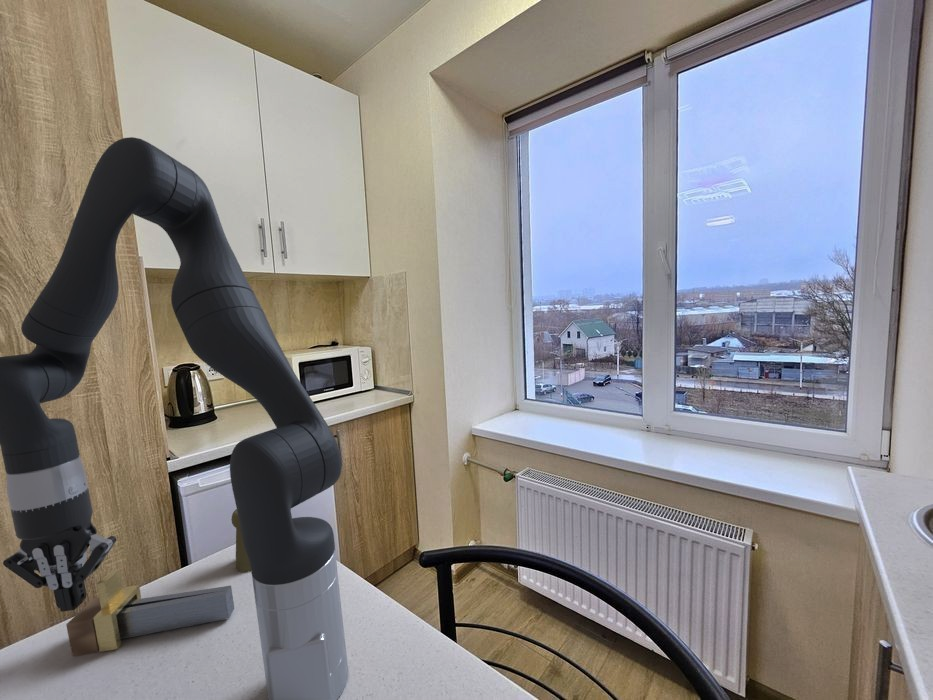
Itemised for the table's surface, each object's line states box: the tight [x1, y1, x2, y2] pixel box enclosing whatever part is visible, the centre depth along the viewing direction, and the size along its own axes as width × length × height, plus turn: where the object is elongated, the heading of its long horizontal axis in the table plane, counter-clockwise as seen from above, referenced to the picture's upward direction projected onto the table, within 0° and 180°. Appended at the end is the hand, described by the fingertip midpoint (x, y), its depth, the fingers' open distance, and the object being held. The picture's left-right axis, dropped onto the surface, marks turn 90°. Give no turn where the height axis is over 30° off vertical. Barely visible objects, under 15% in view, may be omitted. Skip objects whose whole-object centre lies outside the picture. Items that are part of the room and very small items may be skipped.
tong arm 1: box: [116, 590, 233, 640], centre depth 58 cm, size 16×1×4 cm, turn 101°
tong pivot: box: [65, 597, 101, 657], centre depth 57 cm, size 3×5×5 cm, turn 10°
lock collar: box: [93, 568, 142, 653], centre depth 58 cm, size 2×6×9 cm, turn 10°
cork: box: [231, 508, 251, 573], centre depth 73 cm, size 6×6×11 cm
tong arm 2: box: [122, 585, 235, 614], centre depth 60 cm, size 16×1×4 cm, turn 98°
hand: (72, 606), depth 56 cm, fingers closed
